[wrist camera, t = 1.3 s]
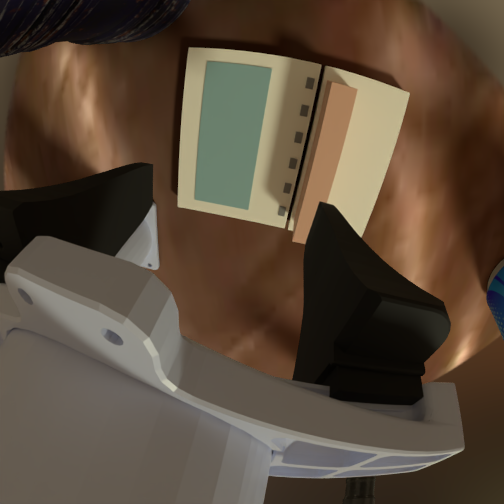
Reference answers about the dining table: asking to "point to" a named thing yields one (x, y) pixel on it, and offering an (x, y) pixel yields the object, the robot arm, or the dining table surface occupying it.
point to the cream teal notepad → (243, 132)
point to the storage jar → (82, 21)
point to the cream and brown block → (347, 149)
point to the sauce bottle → (359, 490)
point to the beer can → (497, 295)
